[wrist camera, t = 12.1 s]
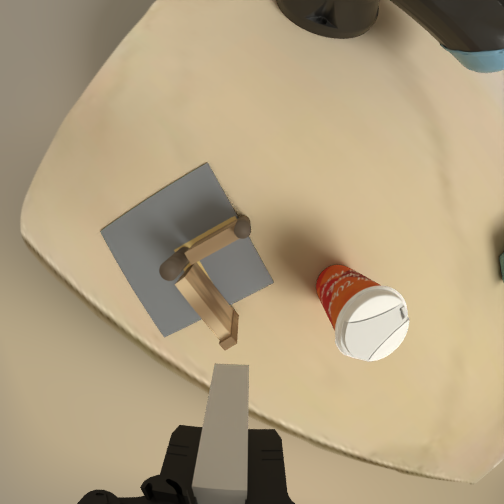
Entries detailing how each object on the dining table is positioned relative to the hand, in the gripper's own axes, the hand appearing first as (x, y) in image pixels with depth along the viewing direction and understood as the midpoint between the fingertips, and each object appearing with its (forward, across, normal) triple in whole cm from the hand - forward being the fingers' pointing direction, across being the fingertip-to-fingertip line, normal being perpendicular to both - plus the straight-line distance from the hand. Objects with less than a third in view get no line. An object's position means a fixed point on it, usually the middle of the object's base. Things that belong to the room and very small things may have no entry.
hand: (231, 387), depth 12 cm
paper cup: (+25, +12, -3) cm, 28 cm away
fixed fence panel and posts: (+25, -4, +2) cm, 25 cm away
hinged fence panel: (+24, -4, -4) cm, 25 cm away
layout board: (+25, -8, 0) cm, 26 cm away
